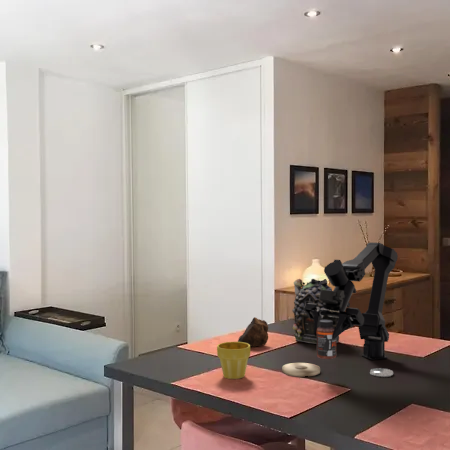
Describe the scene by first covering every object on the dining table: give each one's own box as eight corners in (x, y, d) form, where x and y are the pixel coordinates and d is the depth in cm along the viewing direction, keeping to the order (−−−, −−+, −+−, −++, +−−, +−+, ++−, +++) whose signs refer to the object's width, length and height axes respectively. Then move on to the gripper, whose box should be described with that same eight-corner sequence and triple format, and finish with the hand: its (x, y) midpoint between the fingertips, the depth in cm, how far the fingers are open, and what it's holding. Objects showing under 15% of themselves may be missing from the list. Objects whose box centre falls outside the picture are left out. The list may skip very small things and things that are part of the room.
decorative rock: (266, 343, 225) (266, 315, 225) (271, 346, 219) (270, 318, 219) (236, 345, 222) (236, 317, 222) (240, 348, 216) (240, 320, 216)
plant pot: (226, 383, 173) (226, 350, 173) (211, 374, 182) (211, 343, 182) (256, 378, 178) (256, 346, 178) (240, 370, 187) (240, 340, 187)
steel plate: (384, 369, 186) (384, 367, 186) (397, 375, 180) (397, 373, 180) (365, 372, 184) (365, 369, 184) (378, 378, 177) (378, 375, 177)
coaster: (308, 364, 193) (308, 361, 193) (327, 374, 182) (327, 370, 182) (276, 368, 189) (276, 364, 189) (293, 378, 177) (293, 374, 177)
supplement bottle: (335, 360, 173) (335, 322, 173) (315, 359, 174) (315, 322, 174) (337, 355, 179) (336, 319, 178) (317, 354, 180) (317, 318, 180)
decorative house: (284, 341, 228) (283, 278, 227) (301, 334, 240) (301, 274, 239) (333, 348, 216) (332, 281, 215) (349, 340, 228) (348, 277, 228)
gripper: (306, 277, 185) (287, 317, 177) (359, 282, 173) (342, 324, 165) (319, 299, 191) (301, 338, 183) (371, 304, 179) (355, 346, 171)
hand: (323, 336), depth 175 cm, fingers closed on supplement bottle, 6 cm apart
